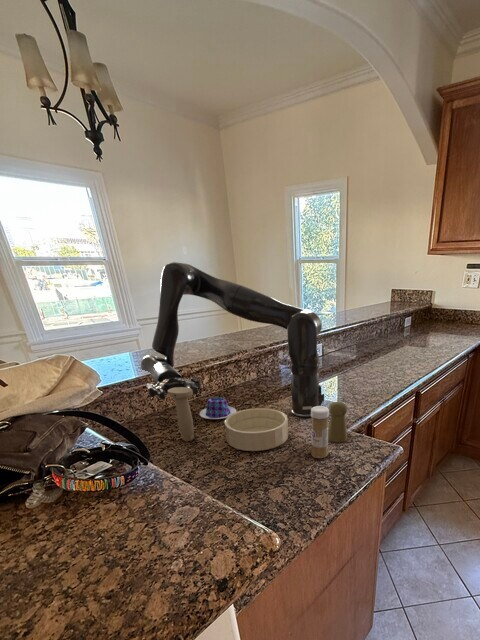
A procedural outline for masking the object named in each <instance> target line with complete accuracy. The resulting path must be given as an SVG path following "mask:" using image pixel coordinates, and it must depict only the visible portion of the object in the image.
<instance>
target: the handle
mask: <svg viewBox="0 0 480 640" xmlns="http://www.w3.org/2000/svg"><path fill="white" fill-rule="evenodd" d="M190 388H191V387H190ZM190 388H186V387H175V388H171V389H169V390H168V394H167V395H168V396H169V397H171V398H173V399H174V401H175V408H176V409H175V410H176V419H177V425H178V429H179V430H178V431H179V433H180V436H181V439H182V441H184V442H191V441H193V440H195V428H194V427H195V426H194V421H193V416H192V411H191V407H190V403H189V397H191V396H192V395H194V394H193V392H192V389H190Z"/></svg>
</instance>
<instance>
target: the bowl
mask: <svg viewBox="0 0 480 640" xmlns="http://www.w3.org/2000/svg"><path fill="white" fill-rule="evenodd" d="M224 428H225V436H226V442H227V444H228V445H229V446H230V447H232V448H234V449H236V450H240V451H247V452H248V451H249V452H260V451H267V450H271V449H274V448H275V449H276V448H278V447H279V446H281V445H283V444H284V443H285V442H287V440H288V438H289V417H288V416H287V414H285V412H283V411H280V410H277V409H274V408H273V409H272V408H267V407H265V408H264V407H256V408H246V409H242V410H238V411H236V413H233V414H232V415H230V416H228V417H226V418H225V420H224Z"/></svg>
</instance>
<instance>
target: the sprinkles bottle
mask: <svg viewBox="0 0 480 640" xmlns="http://www.w3.org/2000/svg"><path fill="white" fill-rule="evenodd" d="M329 416H330V411H329V407H327V406H323V405H321V406H316V407H313V408H312V409H311V434H310V435H311V436H310V437H311V439H310V441H311V442H310V444H311V452H310V455H311V456H312V458H314V459H324V458H326V457H327V456H328V455H329V452H328V447H329V446H328V445H329V440H328V429H329Z"/></svg>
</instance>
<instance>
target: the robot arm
mask: <svg viewBox="0 0 480 640" xmlns="http://www.w3.org/2000/svg"><path fill="white" fill-rule="evenodd" d="M160 276H161V277H160V278H161V279H160V288H159V289H160V291H159V303H158V304H159V305H158V314H157V322H156V326H155V331H154V333H153V339H152V343H151V349H152V350H153V351H154V352H156V353H157V354H160V355H161V356H164V357H161V356H156V355H152V354H151V355H150V354H149V355H145V356H144V357H143V358H142V359H141V360H140V361H141V362H140V369H142V370H145V371H148V372H150V373H151V375H152V377H153V379H152V380H153V382H154V384H153V383H152V382H148V383H146V387H147V391H148V394H149V397H150V398H155V396H157V397H158V399H162V400H166V395H168V390H169V389H171V388H175V387H186V388H190V389H192V392H193V394H192V395H197V394H198V393H199V390H202V385H201V380H200V379H198V378H196V377H195V376H190V378H189V379H186V378H183V376H182V375H181V374H180V373H179V372H178V371H177V369H175V360H174V356H175V348H176V345H177V341H178V337H179V333H180V330H179V329H180V325H179V316H178V314H179V308H180V307H179V306H180V303H181V300H182V298H183V296H184V295H186V296H188V295H189V296H195V297H198V298H202V299H205V300H209V301H211V302H213V303H215V304H216V305H217V306H219V307H220V308H221V309H222V310H224V311H226V312H227V313H229V314H232V315H233V316H236V317H239V318H241V319H244V320H246V321H250V322H255V323H261V324H265V325H266V324H267V325H273V326H277V327H279V328H282V329H284V330H287V331H286V332H287V334H286V335H287V336H286V337H287V350H288V356H289V359H290V381H291V382H290V384H291V385H290V386H291V387H290V389H291V414H292V415H294V416H296V417H298V418H310V417H311V409H312V408H313V407H316V406H322V404H323V402H325V393H323V392H322V385H321V384H320V355H319V353H318V336H319V335H320V333H321V331H322V329H323V324H322V321H321V318H320V317H319V315H318V314H317V313H315V312H314V311H312V310H309V309H306V308H301V307H297V306H294V305H290V304H286V303H284V302H281V301H279V300H277V299H275V298H273V297H271V296H269V295H267V294H264V293H261V292H258V291H257V290H254V289H253V288H249V287H247V286H244V285H241V284H238V283H235V282H233V281H229V280H225V279H221V278H217V277H215V276H213V275H211V274H208V273H207V272H204V271H202V270H201V269H199V268H197V267H195V266H193V265H192V264H188V263H185V262H184V263H183V262H175V261H173V262H168V263H167V264H165V266H164V267H163V269H162V271H161V275H160ZM173 366H174V368H173ZM142 370H141V371H142ZM311 418H312V417H311Z"/></svg>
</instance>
